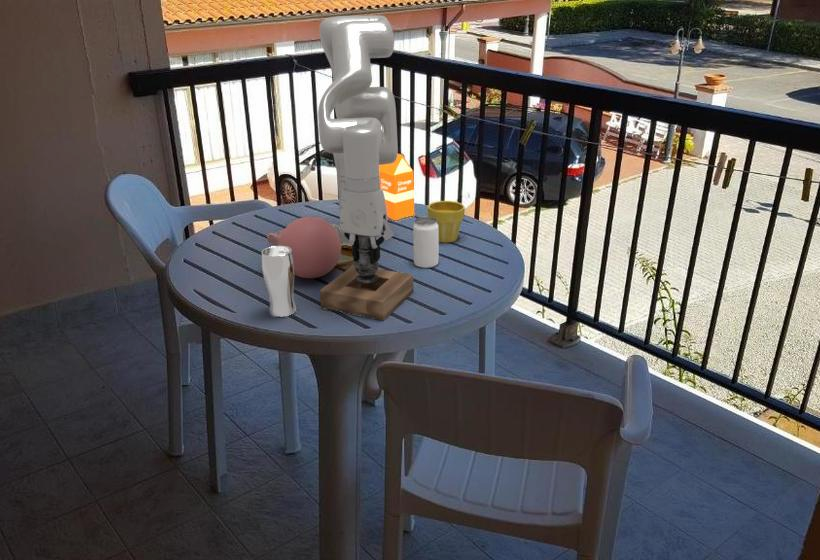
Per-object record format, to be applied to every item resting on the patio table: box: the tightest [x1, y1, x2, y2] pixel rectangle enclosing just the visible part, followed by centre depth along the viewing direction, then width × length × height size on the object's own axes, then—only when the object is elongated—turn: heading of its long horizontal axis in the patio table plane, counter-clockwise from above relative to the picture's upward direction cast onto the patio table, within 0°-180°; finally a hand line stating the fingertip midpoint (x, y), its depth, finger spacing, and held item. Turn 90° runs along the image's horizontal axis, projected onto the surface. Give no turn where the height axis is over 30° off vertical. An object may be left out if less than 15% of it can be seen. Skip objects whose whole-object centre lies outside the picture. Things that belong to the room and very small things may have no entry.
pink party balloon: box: [266, 216, 342, 279], centre depth 172 cm, size 15×20×15 cm
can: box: [412, 216, 440, 269], centre depth 177 cm, size 6×6×12 cm
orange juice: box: [379, 153, 415, 221], centre depth 211 cm, size 8×9×20 cm
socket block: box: [319, 264, 414, 322], centre depth 160 cm, size 16×16×4 cm
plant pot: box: [427, 200, 466, 243], centre depth 194 cm, size 10×10×10 cm
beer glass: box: [261, 245, 297, 317], centre depth 153 cm, size 7×7×15 cm
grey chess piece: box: [353, 235, 380, 283], centre depth 156 cm, size 6×6×12 cm
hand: (366, 260), depth 157 cm, fingers closed on grey chess piece, 3 cm apart
